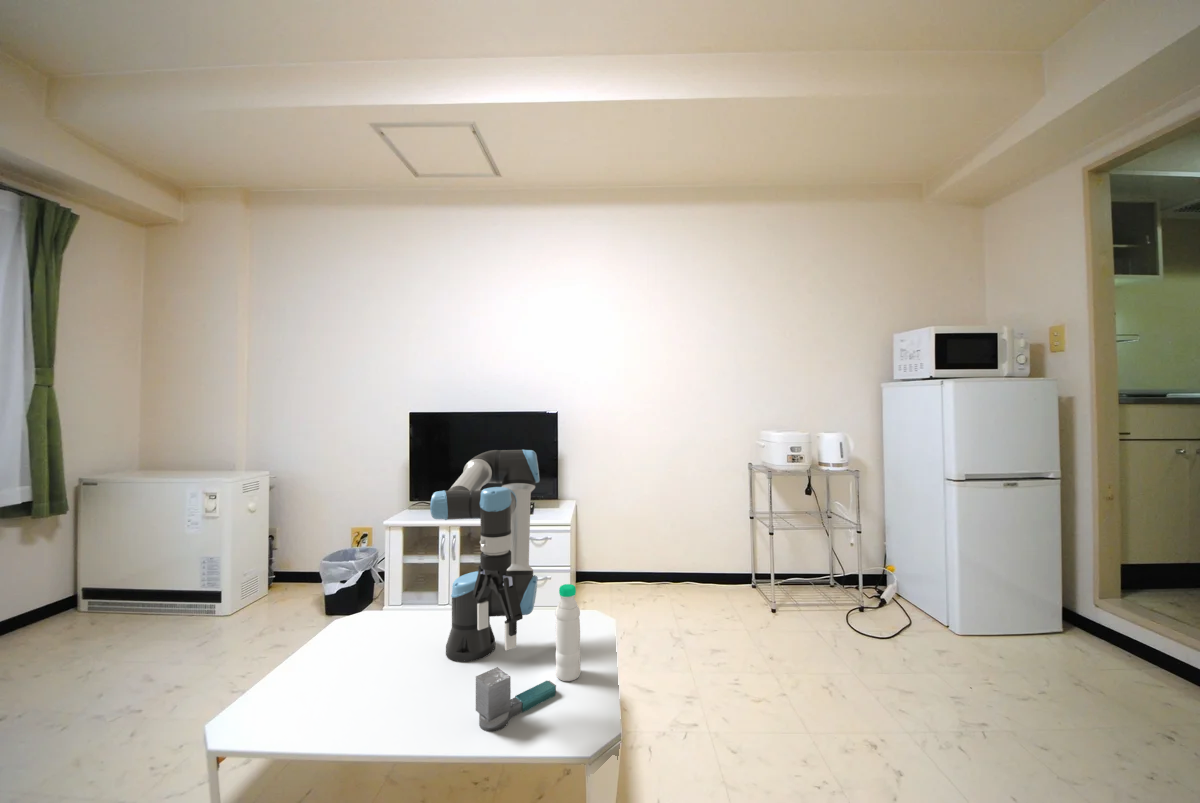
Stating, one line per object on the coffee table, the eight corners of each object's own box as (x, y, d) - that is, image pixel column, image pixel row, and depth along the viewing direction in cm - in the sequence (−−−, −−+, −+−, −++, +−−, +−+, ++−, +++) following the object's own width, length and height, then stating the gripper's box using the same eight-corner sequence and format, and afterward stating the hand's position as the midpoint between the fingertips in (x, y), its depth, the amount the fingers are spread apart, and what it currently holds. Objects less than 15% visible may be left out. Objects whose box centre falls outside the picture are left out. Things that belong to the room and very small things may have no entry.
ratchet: (488, 736, 105) (488, 709, 105) (474, 721, 110) (474, 696, 110) (560, 697, 119) (560, 674, 119) (544, 686, 124) (544, 664, 124)
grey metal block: (475, 710, 110) (475, 676, 110) (497, 699, 114) (497, 667, 115) (488, 722, 106) (488, 686, 106) (510, 710, 110) (510, 676, 110)
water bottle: (577, 683, 125) (576, 591, 126) (552, 681, 126) (551, 589, 128) (583, 669, 132) (582, 582, 133) (559, 667, 133) (559, 581, 134)
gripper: (459, 543, 120) (459, 625, 119) (509, 566, 101) (509, 663, 101) (485, 538, 125) (485, 616, 124) (537, 559, 106) (537, 651, 106)
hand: (496, 637), depth 112 cm, fingers open, 13 cm apart
